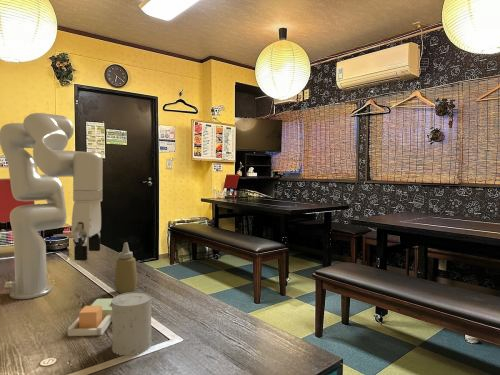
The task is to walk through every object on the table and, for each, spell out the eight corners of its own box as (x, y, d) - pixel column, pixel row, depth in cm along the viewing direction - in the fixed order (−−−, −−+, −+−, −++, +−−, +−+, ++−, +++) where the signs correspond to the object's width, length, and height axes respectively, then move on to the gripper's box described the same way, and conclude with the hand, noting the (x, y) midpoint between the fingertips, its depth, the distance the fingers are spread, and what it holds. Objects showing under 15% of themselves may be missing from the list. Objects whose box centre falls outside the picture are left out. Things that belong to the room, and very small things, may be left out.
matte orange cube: (79, 332, 95) (79, 312, 95) (85, 324, 100) (85, 305, 99) (96, 331, 96) (96, 312, 95) (102, 324, 100) (102, 305, 100)
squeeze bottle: (130, 296, 121) (129, 245, 120) (109, 294, 123) (109, 244, 122) (142, 288, 129) (141, 241, 128) (122, 286, 131) (121, 239, 130)
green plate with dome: (67, 336, 93) (67, 322, 93) (92, 308, 111) (92, 297, 110) (126, 334, 94) (126, 320, 94) (141, 307, 112) (141, 296, 112)
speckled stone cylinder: (118, 337, 93) (117, 292, 92) (154, 336, 93) (154, 291, 93) (106, 356, 83) (106, 306, 82) (147, 355, 84) (147, 305, 83)
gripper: (86, 192, 106) (86, 247, 108) (59, 199, 89) (60, 264, 90) (111, 193, 107) (111, 247, 108) (89, 199, 90) (89, 264, 91)
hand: (88, 255), depth 99 cm, fingers open, 9 cm apart
